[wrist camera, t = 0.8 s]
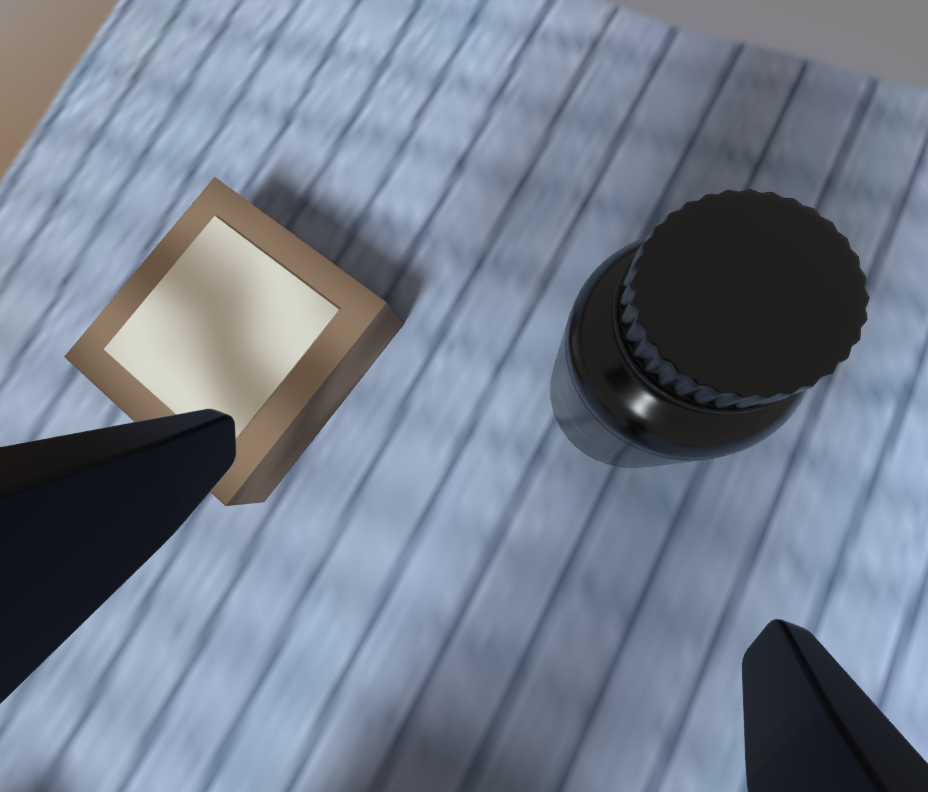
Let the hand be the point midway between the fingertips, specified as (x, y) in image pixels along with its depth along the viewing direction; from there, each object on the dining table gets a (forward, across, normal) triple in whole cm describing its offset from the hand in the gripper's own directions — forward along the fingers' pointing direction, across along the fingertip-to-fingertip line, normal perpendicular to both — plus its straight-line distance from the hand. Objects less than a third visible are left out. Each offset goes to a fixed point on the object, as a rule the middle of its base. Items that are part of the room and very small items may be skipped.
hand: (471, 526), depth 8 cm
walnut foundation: (+13, +14, +6) cm, 20 cm away
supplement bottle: (+15, -4, +4) cm, 16 cm away
